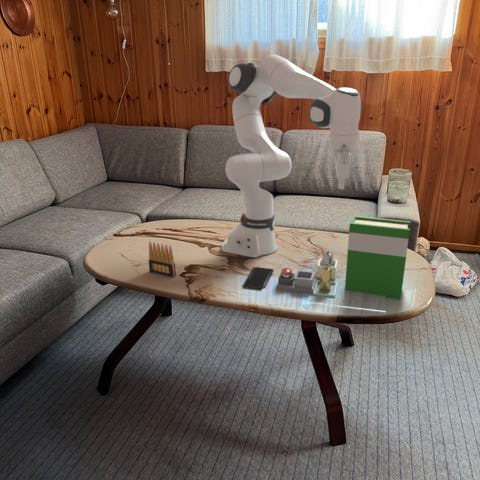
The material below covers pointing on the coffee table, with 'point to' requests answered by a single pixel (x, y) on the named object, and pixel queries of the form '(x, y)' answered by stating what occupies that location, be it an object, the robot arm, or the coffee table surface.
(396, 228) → the hardback book
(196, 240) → the coffee table surface
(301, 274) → the grey socket holder
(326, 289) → the cell
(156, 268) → the ammunition clip
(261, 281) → the phone
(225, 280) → the coffee table surface
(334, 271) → the white square bin
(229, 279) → the coffee table surface
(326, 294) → the pale green rectangular frame
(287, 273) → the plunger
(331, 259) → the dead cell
